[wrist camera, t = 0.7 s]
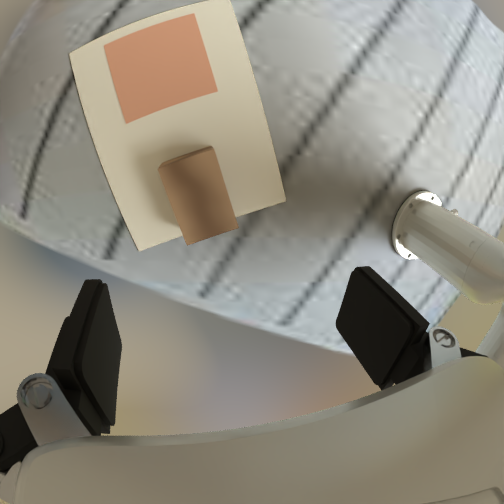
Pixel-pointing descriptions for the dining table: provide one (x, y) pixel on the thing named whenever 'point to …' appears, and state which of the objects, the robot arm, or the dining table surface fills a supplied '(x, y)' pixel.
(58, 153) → the dining table surface
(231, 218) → the walnut card box
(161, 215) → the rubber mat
